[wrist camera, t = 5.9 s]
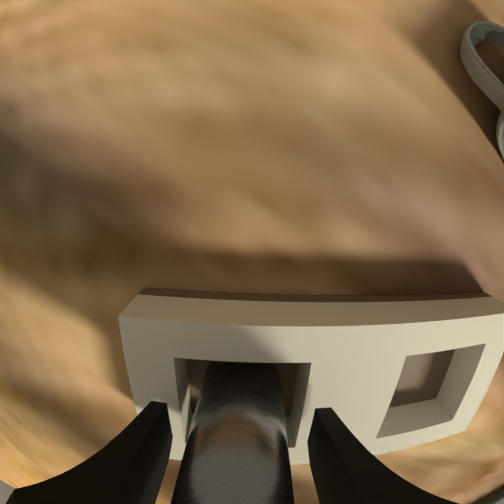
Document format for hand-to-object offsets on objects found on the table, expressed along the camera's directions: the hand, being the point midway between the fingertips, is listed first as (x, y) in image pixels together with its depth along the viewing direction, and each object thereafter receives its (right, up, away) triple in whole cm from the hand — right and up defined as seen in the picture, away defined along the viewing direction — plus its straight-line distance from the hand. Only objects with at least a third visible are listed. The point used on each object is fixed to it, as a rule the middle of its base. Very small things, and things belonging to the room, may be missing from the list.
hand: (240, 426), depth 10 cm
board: (+5, +1, +4) cm, 6 cm away
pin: (0, +1, +3) cm, 3 cm away
